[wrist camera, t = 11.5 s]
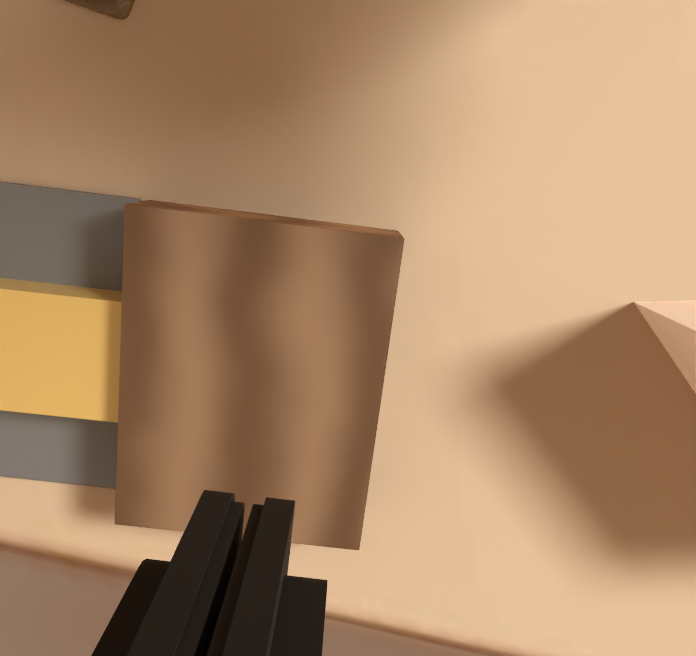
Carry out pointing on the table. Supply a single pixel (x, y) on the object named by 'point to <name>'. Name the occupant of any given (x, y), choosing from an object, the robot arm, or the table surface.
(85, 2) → the bread roll
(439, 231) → the table surface
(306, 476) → the plate
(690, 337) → the white rectangular block
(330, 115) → the table surface
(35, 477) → the mat
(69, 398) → the yellow sticky note pad
